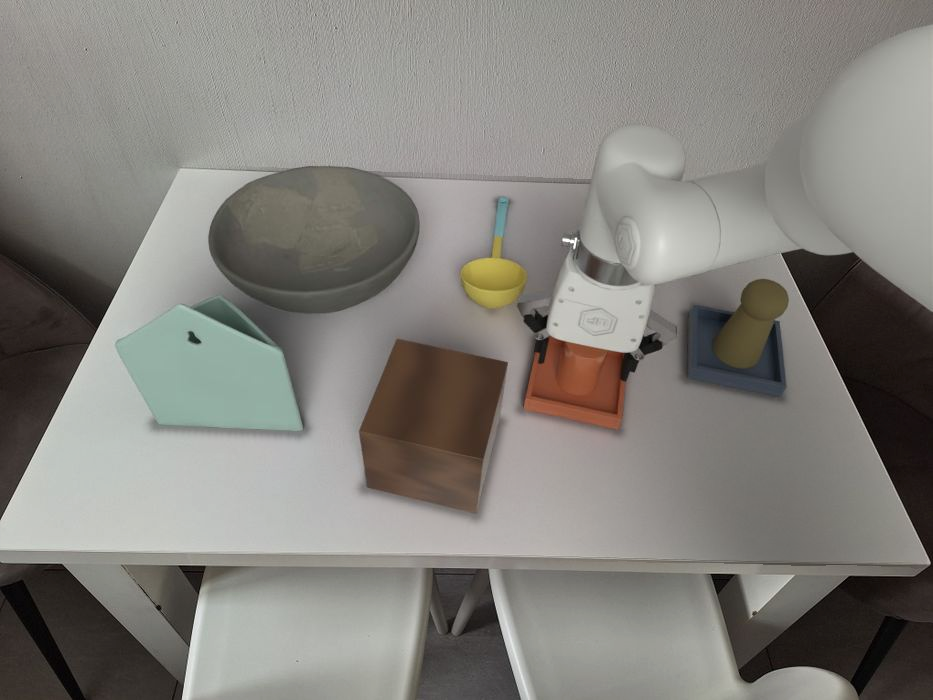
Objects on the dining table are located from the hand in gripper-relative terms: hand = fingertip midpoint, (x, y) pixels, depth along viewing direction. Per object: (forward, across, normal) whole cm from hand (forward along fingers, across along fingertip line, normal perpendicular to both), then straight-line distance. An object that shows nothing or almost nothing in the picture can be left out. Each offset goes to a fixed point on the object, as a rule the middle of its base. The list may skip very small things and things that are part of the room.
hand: (582, 363), depth 77 cm
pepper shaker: (+4, +19, +10) cm, 22 cm away
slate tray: (+4, +19, +10) cm, 22 cm away
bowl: (+4, -36, +9) cm, 37 cm away
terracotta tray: (+4, 0, 0) cm, 4 cm away
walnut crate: (+4, -14, -14) cm, 20 cm away
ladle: (+4, -14, +20) cm, 25 cm away
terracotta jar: (+3, 0, 0) cm, 3 cm away
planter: (+4, -38, -13) cm, 40 cm away
